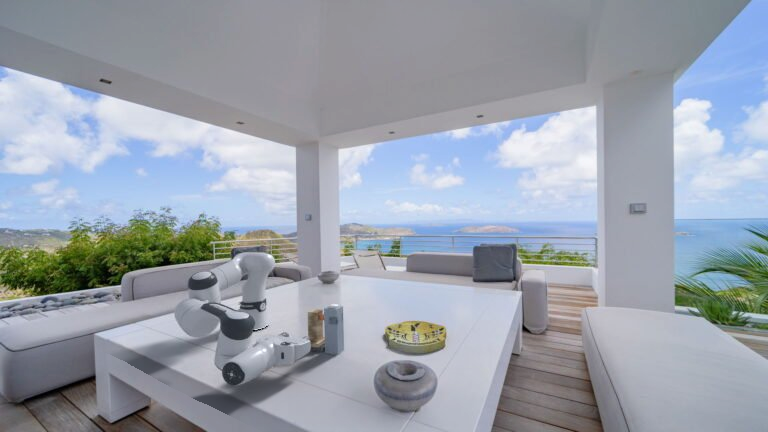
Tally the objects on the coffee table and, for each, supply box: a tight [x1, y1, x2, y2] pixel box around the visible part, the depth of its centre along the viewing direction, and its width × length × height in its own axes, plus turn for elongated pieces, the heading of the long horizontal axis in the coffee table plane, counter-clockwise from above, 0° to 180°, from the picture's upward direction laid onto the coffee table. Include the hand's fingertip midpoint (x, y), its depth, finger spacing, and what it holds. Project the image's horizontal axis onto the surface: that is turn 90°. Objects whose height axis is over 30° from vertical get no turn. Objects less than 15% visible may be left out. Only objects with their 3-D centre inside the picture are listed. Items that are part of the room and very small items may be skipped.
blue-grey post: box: [323, 303, 345, 356], centre depth 120 cm, size 6×5×19 cm
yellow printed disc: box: [385, 320, 447, 354], centre depth 131 cm, size 28×3×30 cm
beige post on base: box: [307, 308, 325, 347], centre depth 124 cm, size 7×7×14 cm
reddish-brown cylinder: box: [318, 313, 324, 321], centre depth 122 cm, size 6×2×2 cm, turn 69°
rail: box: [277, 331, 325, 354], centre depth 126 cm, size 24×5×4 cm, turn 69°
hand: (297, 337), depth 112 cm, fingers open, 8 cm apart
